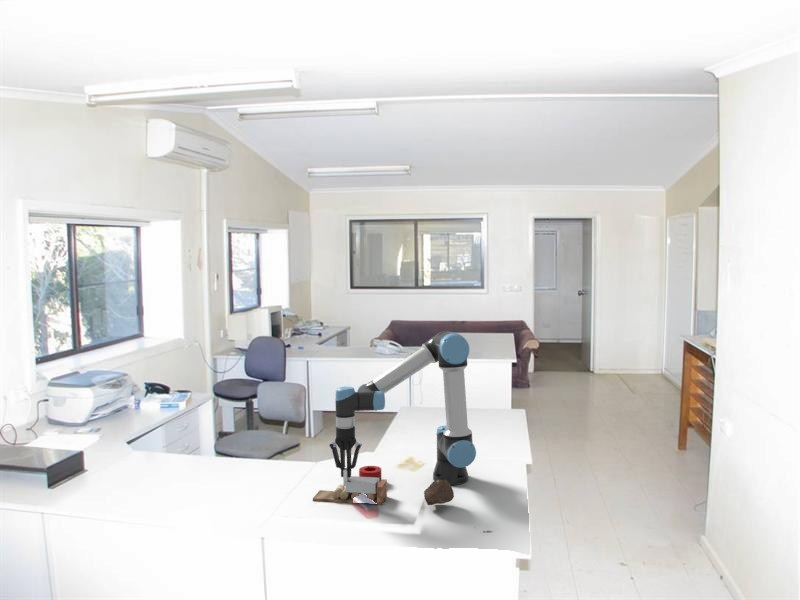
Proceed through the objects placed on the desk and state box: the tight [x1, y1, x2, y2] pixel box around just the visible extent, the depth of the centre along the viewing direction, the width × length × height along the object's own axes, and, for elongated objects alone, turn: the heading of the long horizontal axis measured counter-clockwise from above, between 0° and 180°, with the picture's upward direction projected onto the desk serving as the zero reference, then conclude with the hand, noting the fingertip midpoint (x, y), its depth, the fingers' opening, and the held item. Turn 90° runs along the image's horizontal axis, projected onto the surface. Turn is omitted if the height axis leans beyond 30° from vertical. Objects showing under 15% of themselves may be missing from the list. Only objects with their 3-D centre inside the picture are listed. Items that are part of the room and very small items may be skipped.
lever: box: [358, 465, 382, 483], centre depth 265 cm, size 18×9×7 cm, turn 18°
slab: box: [345, 475, 379, 494], centre depth 243 cm, size 12×7×4 cm, turn 79°
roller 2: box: [351, 493, 361, 500], centre depth 244 cm, size 8×3×3 cm
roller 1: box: [332, 484, 346, 499], centre depth 245 cm, size 8×3×3 cm
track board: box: [312, 478, 388, 506], centre depth 244 cm, size 28×9×7 cm, turn 79°
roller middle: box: [340, 486, 351, 500], centre depth 244 cm, size 8×3×3 cm
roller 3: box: [367, 492, 377, 500], centre depth 242 cm, size 8×3×3 cm
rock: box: [423, 480, 455, 506], centre depth 237 cm, size 12×10×10 cm
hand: (346, 485), depth 244 cm, fingers closed
